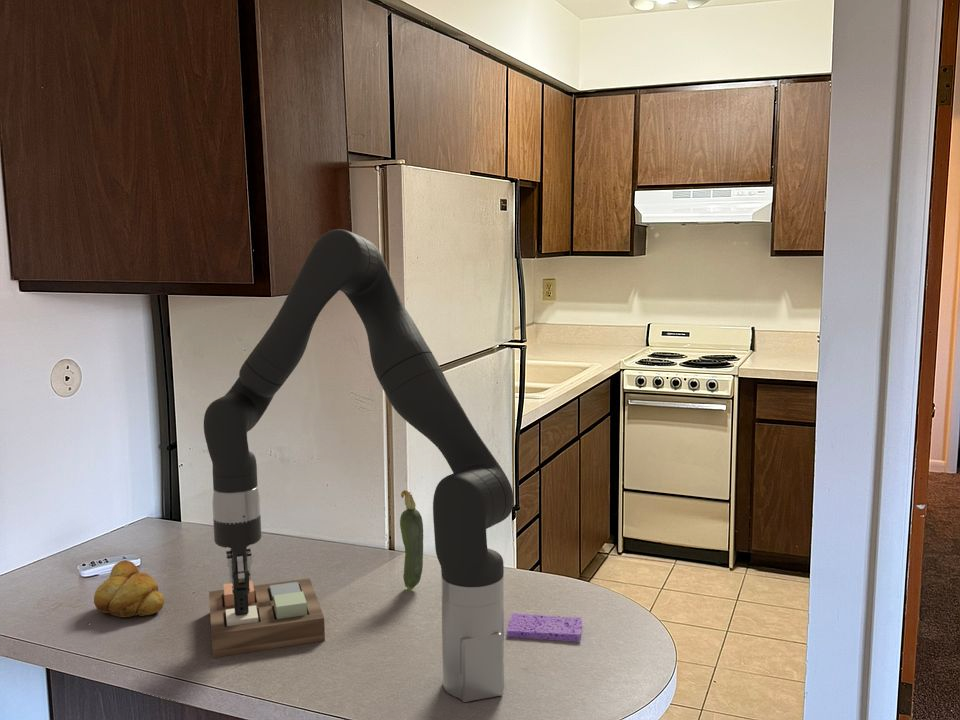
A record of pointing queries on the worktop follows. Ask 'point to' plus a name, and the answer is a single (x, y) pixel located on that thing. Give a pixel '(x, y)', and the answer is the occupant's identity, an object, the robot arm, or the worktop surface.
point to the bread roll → (128, 592)
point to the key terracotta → (230, 597)
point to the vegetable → (412, 541)
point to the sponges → (544, 627)
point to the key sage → (290, 605)
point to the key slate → (283, 589)
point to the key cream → (241, 617)
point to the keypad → (265, 623)
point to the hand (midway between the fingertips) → (241, 613)
